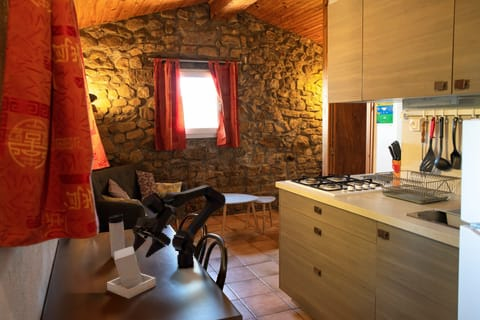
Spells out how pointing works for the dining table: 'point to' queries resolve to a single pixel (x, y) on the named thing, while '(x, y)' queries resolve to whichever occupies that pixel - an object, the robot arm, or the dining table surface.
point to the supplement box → (127, 267)
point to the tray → (129, 292)
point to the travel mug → (116, 233)
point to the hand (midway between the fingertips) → (139, 254)
